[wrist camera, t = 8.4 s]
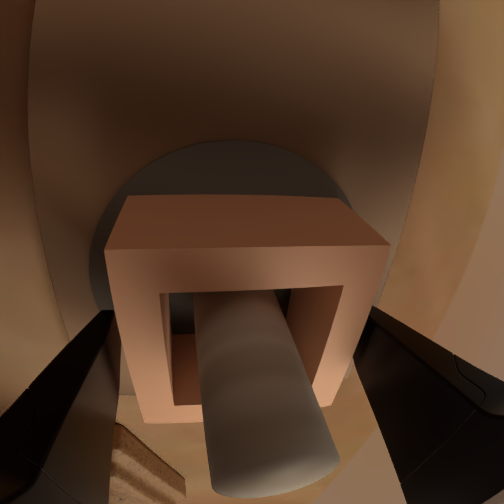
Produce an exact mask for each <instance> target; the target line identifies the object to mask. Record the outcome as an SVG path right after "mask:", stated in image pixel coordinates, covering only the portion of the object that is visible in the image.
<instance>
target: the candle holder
mask: <svg viewBox="0 0 504 504" xmlns="http://www.w3.org/2000/svg"><path fill="white" fill-rule="evenodd" d="M185 498H186V488H185V479H184V478H183V477H182V476H181V475H180V474H179V473H177V472H176V471H175V470H174V469H172V468H171V467H170V466H169V465H168V464H166V463H165V462H164V461H163V460H162V459H160V458H159V457H158V456H157V455H156V454H155V453H153V452H152V451H151V450H150V449H149V448H148V447H147V446H146V445H144V444H143V443H142V442H141V441H140V440H139V439H138V438H137V437H136V436H135V435H133V434H132V433H131V432H130V431H129V430H127V429H126V428H125V427H124V426H122V425H120V424H115V429H114V438H113V448H112V459H111V472H110V488H109V504H176V502H177V501H179V500H182V499H185Z"/></svg>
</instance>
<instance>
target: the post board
mask: <svg viewBox="0 0 504 504" xmlns="http://www.w3.org/2000/svg"><path fill="white" fill-rule="evenodd" d="M438 26H439V0H36V2H35V9H34V15H33V22H32V31H31V40H30V51H29V66H28V135H29V151H30V162H31V172H32V181H33V189H34V196H35V203H36V210H37V216H38V221H39V227H40V232H41V237H42V242H43V247H44V252H45V256H46V260H47V265H48V269H49V273H50V277H51V280H52V284H53V288H54V292H55V295H56V299H57V302H58V305H59V309H60V312H61V315H62V318H63V321H64V324H65V327H66V330H67V333H68V336H69V339H70V341H71V340H72V339H73V338H74V337H75V336H76V335H77V334H78V333H79V332H80V331H81V330H82V329H83V328H84V327H85V326H86V325H87V324H88V323H89V322H90V321H91V320H92V319H93V318H94V317H95V316H96V315H97V314H98V313H99V312H100V311H101V310H114V305H113V300H112V295H111V289H110V284H109V278H108V272H107V266H106V260H105V253H104V249H105V246H106V244H107V241H108V239H109V237H110V234H111V232H112V230H113V227H114V225H115V223H116V221H117V218H118V216H119V214H120V212H121V209H122V207H123V205H124V203H125V201H126V199H127V197H128V196H135V195H191V194H222V195H277V196H304V197H325V198H339V199H340V200H341V201H342V202H343V203H345V204H346V205H347V206H348V207H349V208H350V209H352V210H353V211H354V212H355V213H356V214H357V215H359V216H360V217H361V218H362V219H363V220H364V221H365V222H366V223H368V224H369V225H370V226H371V227H372V228H373V229H374V230H375V231H377V232H378V233H379V234H380V235H381V236H382V237H383V238H384V239H385V240H386V241H388V242H389V243H390V244H391V245H392V246H391V249H390V252H389V256H388V259H387V262H386V265H385V269H384V272H383V275H382V278H381V281H380V284H379V287H378V290H377V293H376V296H375V299H374V301H373V304H372V305H373V306H375V307H376V308H377V305H378V303H379V300H380V297H381V295H382V292H383V289H384V286H385V283H386V280H387V278H388V275H389V272H390V269H391V266H392V263H393V259H394V256H395V253H396V250H397V247H398V243H399V240H400V237H401V233H402V230H403V227H404V223H405V219H406V216H407V212H408V209H409V205H410V201H411V197H412V193H413V189H414V185H415V181H416V176H417V172H418V168H419V163H420V159H421V154H422V149H423V144H424V139H425V133H426V128H427V122H428V116H429V110H430V104H431V97H432V90H433V82H434V74H435V64H436V54H437V42H438ZM291 290H292V288H286V289H266V290H243V291H216V292H181V293H169V306H170V318H171V329H172V335H179V334H195V337H196V350H197V362H198V374H199V384H200V395H201V404H202V414H203V423H204V431H205V440H206V448H207V455H208V463H209V470H210V477H211V484H212V489H213V490H214V491H215V492H216V493H218V494H221V495H224V496H228V497H235V498H258V497H266V496H273V495H278V494H282V493H286V492H290V491H293V490H296V489H299V488H302V487H305V486H307V485H310V484H312V483H314V482H316V481H318V480H320V479H322V478H323V477H325V476H326V475H328V474H329V473H331V472H332V471H333V470H334V469H335V468H336V467H337V466H338V464H339V462H340V457H339V454H338V452H337V449H336V447H335V444H334V441H333V439H332V436H331V434H330V431H329V429H328V426H327V424H326V421H325V419H324V416H323V413H322V411H321V408H320V406H319V403H318V401H317V398H316V396H315V393H314V391H313V388H312V386H311V383H310V381H309V378H308V376H307V373H306V370H305V368H304V365H303V363H302V360H301V358H300V355H299V353H298V350H297V348H296V345H295V343H294V340H293V338H292V335H291V333H290V330H289V328H288V325H287V323H286V316H287V311H288V306H289V300H290V295H291ZM353 364H354V360H353V357H352V359H351V361H350V363H349V366H348V368H347V371H346V373H345V375H344V377H343V379H347V378H348V376H349V373H350V371H351V369H352V367H353ZM119 395H136V393H135V390H134V386H133V383H132V379H131V376H130V372H129V369H128V365H127V361H126V357H125V353H124V349H123V345H122V343H121V364H120V389H119Z"/></svg>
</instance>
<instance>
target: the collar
mask: <svg viewBox="0 0 504 504" xmlns="http://www.w3.org/2000/svg"><path fill="white" fill-rule="evenodd" d="M391 246H392V245H391V244H390V243H389V242H388V241H386V240H385V239H384V238H383V237H382V236H381V235H380V234H379V233H378V232H377V231H375V230H374V229H373V228H372V227H371V226H370V225H369V224H368V223H366V222H365V221H364V220H363V219H362V218H361V217H360V216H359V215H357V214H356V213H355V212H354V211H353V210H352V209H350V208H349V207H348V206H347V205H346V204H345V203H343V202H342V201H341V200H340V199H339V198H325V197H304V196H277V195H222V194H191V195H135V196H128V197H127V199H126V201H125V203H124V205H123V207H122V209H121V212H120V214H119V216H118V218H117V221H116V223H115V225H114V227H113V230H112V232H111V234H110V237H109V239H108V241H107V244H106V246H105V249H104V253H105V260H106V266H107V272H108V278H109V284H110V289H111V295H112V300H113V305H114V310H115V315H116V319H117V324H118V328H119V333H120V337H121V341H122V345H123V349H124V353H125V357H126V361H127V365H128V369H129V372H130V376H131V379H132V383H133V386H134V390H135V393H136V396H137V400H138V403H139V406H140V409H141V412H142V415H143V419H144V422H145V423H188V422H203V414H202V404H201V395H200V384H199V374H198V362H197V350H196V337H195V334H179V335H172V329H171V318H170V306H169V293H181V292H216V291H243V290H266V289H286V288H292V290H291V295H290V300H289V306H288V311H287V316H286V323H287V325H288V328H289V330H290V333H291V335H292V338H293V340H294V343H295V345H296V348H297V350H298V353H299V355H300V358H301V360H302V363H303V365H304V368H305V370H306V373H307V376H308V378H309V381H310V383H311V386H312V388H313V391H314V393H315V396H316V398H317V401H318V403H319V406H320V407H324V406H330V405H331V404H332V402H333V400H334V397H335V395H336V393H337V391H338V389H339V386H340V384H341V382H342V380H343V377H344V375H345V373H346V371H347V368H348V366H349V363H350V361H351V359H352V356H353V354H354V351H355V349H356V346H357V344H358V341H359V339H360V336H361V334H362V331H363V329H364V326H365V323H366V321H367V318H368V315H369V313H370V310H371V307H372V304H373V301H374V299H375V296H376V293H377V290H378V287H379V284H380V281H381V278H382V275H383V272H384V269H385V265H386V262H387V259H388V256H389V252H390V249H391Z"/></svg>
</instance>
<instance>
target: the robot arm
mask: <svg viewBox="0 0 504 504" xmlns="http://www.w3.org/2000/svg"><path fill="white" fill-rule="evenodd" d="M121 343H122V341H121V337H120V333H119V328H118V324H117V319H116V315H115V310H101V311H100V312H99V313H98V314H97V315H96V316H95V317H94V318H93V319H92V320H91V321H90V322H89V323H88V324H87V325H86V326H85V327H84V328H83V329H82V330H81V331H80V332H79V333H78V334H77V335H76V336H75V337H74V338H73V339H72V340H71V341H70V342H69V343H68V344H67V345H66V346H65V347H64V349H63V350H62V351H61V352H60V353H59V354H58V355H57V356H56V357H55V358H54V359H53V360H52V361H51V362H50V363H49V364H48V366H47V367H46V368H45V369H44V370H43V371H42V372H41V373H40V374H39V375H38V376H37V378H36V379H35V380H34V381H33V382H32V383H31V384H30V385H29V387H28V388H29V389H28V388H27V389H26V390H25V391H24V392H23V393H22V394H21V395H20V396H19V397H18V399H17V400H16V401H15V402H14V403H13V404H12V405H11V406H10V407H9V408H8V409H7V410H6V411H5V412H4V413H3V414H2V415H1V416H0V504H109V488H110V472H111V459H112V448H113V438H114V429H115V420H116V412H117V405H118V397H119V389H120V364H121ZM352 357H353V360H354V364H355V367H356V370H357V373H358V375H359V378H360V380H361V383H362V385H363V388H364V390H365V393H366V395H367V398H368V400H369V403H370V405H371V408H372V410H373V413H374V415H375V418H376V420H377V423H378V425H379V428H380V430H381V433H382V436H383V438H384V441H385V444H386V446H387V449H388V452H389V454H390V457H391V460H392V462H393V465H394V468H395V470H396V473H397V476H398V479H399V482H400V483H401V488H402V490H403V493H404V496H405V499H406V502H407V504H504V382H503V381H502V380H500V379H498V378H496V377H494V376H492V375H490V374H488V373H486V372H484V371H482V370H480V369H479V368H477V367H475V366H473V365H472V364H470V363H468V362H466V361H465V360H463V359H461V358H460V357H458V356H457V355H455V354H454V355H453V354H452V352H450V351H448V350H447V349H445V348H443V347H441V346H440V345H438V344H436V343H435V342H433V341H432V340H430V339H428V338H427V337H425V336H423V335H422V334H420V333H418V332H417V331H415V330H413V329H412V328H410V327H408V326H407V325H405V324H403V323H402V322H400V321H398V320H397V319H395V318H393V317H392V316H390V315H388V314H386V313H385V312H383V311H381V310H380V309H378V308H376V307H375V306H373V305H372V307H371V310H370V313H369V315H368V318H367V321H366V323H365V326H364V329H363V331H362V334H361V336H360V339H359V341H358V344H357V346H356V349H355V351H354V354H353V356H352Z"/></svg>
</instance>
